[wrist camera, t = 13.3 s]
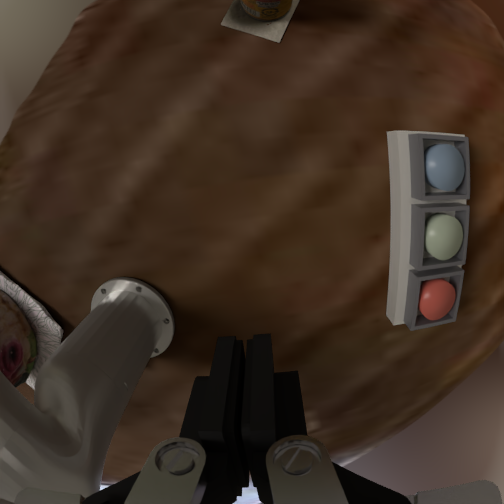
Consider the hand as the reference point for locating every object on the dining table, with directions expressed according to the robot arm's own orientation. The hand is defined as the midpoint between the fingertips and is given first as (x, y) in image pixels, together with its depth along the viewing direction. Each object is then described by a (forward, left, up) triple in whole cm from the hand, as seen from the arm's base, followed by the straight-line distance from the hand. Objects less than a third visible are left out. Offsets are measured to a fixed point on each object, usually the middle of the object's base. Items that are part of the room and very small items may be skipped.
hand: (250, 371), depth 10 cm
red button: (+1, -24, -23) cm, 34 cm away
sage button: (+8, -20, -23) cm, 32 cm away
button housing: (+8, -20, -27) cm, 35 cm away
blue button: (+15, -16, -23) cm, 32 cm away
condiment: (+24, +10, -27) cm, 38 cm away
